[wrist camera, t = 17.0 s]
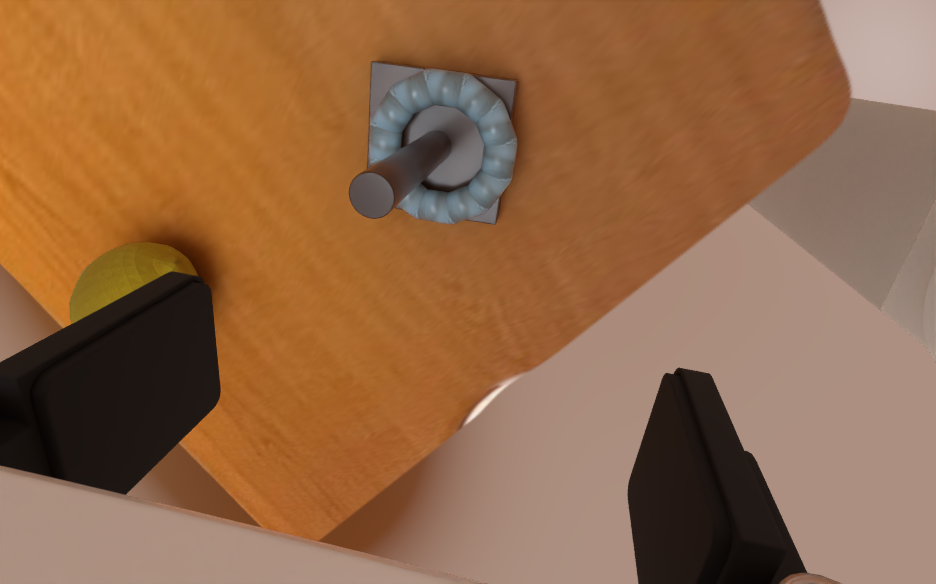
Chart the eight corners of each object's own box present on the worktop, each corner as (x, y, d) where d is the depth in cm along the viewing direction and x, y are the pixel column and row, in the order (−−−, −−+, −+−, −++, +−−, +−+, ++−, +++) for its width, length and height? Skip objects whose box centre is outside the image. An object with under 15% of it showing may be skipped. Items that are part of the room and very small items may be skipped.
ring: (528, 80, 32) (526, 82, 30) (505, 227, 35) (502, 237, 34) (378, 60, 32) (367, 60, 31) (372, 206, 36) (362, 214, 35)
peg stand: (518, 79, 33) (492, 97, 20) (498, 218, 37) (464, 309, 24) (378, 60, 34) (264, 65, 21) (372, 198, 38) (273, 275, 25)
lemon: (180, 206, 40) (98, 240, 33) (248, 288, 42) (184, 337, 35) (96, 273, 44) (6, 316, 37) (162, 345, 46) (89, 400, 39)
